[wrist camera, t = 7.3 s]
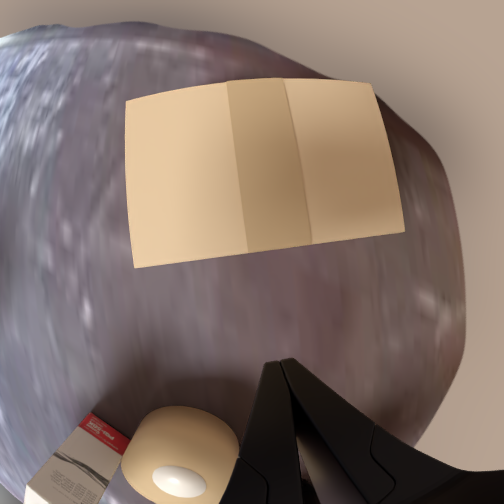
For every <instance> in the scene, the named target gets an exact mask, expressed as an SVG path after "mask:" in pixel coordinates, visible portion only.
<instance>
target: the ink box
mask: <svg viewBox="0 0 504 504" xmlns="http://www.w3.org/2000/svg"><path fill="white" fill-rule="evenodd" d="M130 441H131V440H130V439H128V438H127V437H125V436H124V435H122V434H121V433H120V432H118V431H117V430H115V429H114V428H112V427H111V426H110V425H108V424H107V423H105V422H104V421H102V420H101V419H100V418H98V417H97V416H95V415H94V414H92V413H91V412H90V413H89V414H88V415H87V416H86V417H85V418H84V419H83V421H82V422H81V423H80V424H79V425H78V427H77V428H76V429H75V430H74V431H73V432H72V433H71V434H70V436H69V437H68V438H67V439H66V440H65V441H64V442H63V444H62V445H61V446H60V447H59V448H58V449H57V450H56V452H55V453H54V454H53V455H52V456H51V457H50V458H49V460H48V461H47V462H46V463H45V464H44V465H43V466H42V467H41V469H40V470H39V471H38V472H37V473H36V474H35V475H34V477H33V478H32V479H31V480H30V481H29V482H28V483H27V485H26V492H25V499H24V504H98V503H99V501H100V499H101V497H102V495H103V493H104V492H105V490H106V488H107V486H108V484H109V482H110V480H111V478H112V477H113V475H114V473H115V471H116V469H117V467H118V465H119V463H120V462H121V459H122V457H123V454H124V453H125V451H126V449H127V447H128V445H129V443H130Z"/></svg>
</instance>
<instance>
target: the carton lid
mask: <svg viewBox="0 0 504 504" xmlns="http://www.w3.org/2000/svg"><path fill="white" fill-rule="evenodd" d="M125 169H126V191H127V206H128V218H129V228H130V238H131V246H132V254H133V261H134V268H140V267H148V266H155V265H163V264H170V263H177V262H185V261H192V260H200V259H207V258H215V257H222V256H229V255H237V254H244V253H252V252H259V251H267V250H274V249H282V248H289V247H296V246H304V245H311V244H318V243H325V242H333V241H340V240H347V239H355V238H362V237H370V236H377V235H384V234H392V233H399V232H405V228H404V220H403V213H402V206H401V200H400V194H399V188H398V183H397V178H396V173H395V168H394V163H393V159H392V154H391V150H390V146H389V142H388V138H387V134H386V131H385V127H384V123H383V120H382V116H381V113H380V110H379V107H378V103H377V100H376V97H375V94H374V91H373V89H372V86H371V83H363V82H354V81H342V80H327V79H282V78H263V79H247V80H235V81H226V82H225V83H216V84H209V85H201V86H195V87H189V88H183V89H178V90H172V91H167V92H163V93H158V94H153V95H149V96H145V97H141V98H137V99H133V100H129V101H126V117H125Z"/></svg>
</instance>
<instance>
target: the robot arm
mask: <svg viewBox="0 0 504 504" xmlns="http://www.w3.org/2000/svg"><path fill="white" fill-rule="evenodd" d="M298 449H299V451H300V454H301V456H302V459H303V461H304V464H305V466H306V469H307V471H308V474H309V476H310V479H311V481H312V483H313V484H311V483H310V482H308V481H306V480H304V481H302V479H301V471H300V462H299V454H298ZM303 484H304V485H303ZM219 504H504V470H497V471H496V470H495V471H478V472H474V471H466V470H461V469H457V468H454V467H452V466H450V465H447V464H445V463H443V462H441V461H439V460H437V459H435V458H432V457H430V456H428V455H426V454H424V453H422V452H420V451H418V450H416V449H415V448H413V447H411V446H409V445H407V444H406V443H404V442H402V441H400V440H399V439H397V438H396V437H394V436H393V435H391V434H390V433H388V432H387V431H386V430H384V429H383V428H382V427H380V426H379V425H377V424H376V425H375V422H373V421H372V420H371V419H369V418H368V417H367V416H365V415H364V414H363V413H361V412H360V411H359V410H357V409H356V408H355V407H354V406H352V405H351V404H350V403H348V402H347V401H346V400H345V399H343V398H342V397H341V396H340V395H338V394H337V393H336V392H335V391H333V390H332V389H331V388H330V387H328V386H327V385H326V384H325V383H323V382H322V381H321V380H320V379H318V378H317V377H316V376H315V375H314V374H312V373H311V372H310V371H309V370H308V369H306V368H305V367H304V366H303V365H302V364H300V363H299V362H298V361H297V360H296V359H294V358H288V359H282V360H280V361H271V362H266V363H265V364H264V366H263V370H262V374H261V378H260V381H259V385H258V389H257V392H256V396H255V399H254V403H253V406H252V410H251V413H250V417H249V420H248V424H247V427H246V430H245V434H244V437H243V440H242V444H241V447H240V450H239V454H238V458H237V459H236V463H235V466H234V469H233V472H232V474H231V477H230V480H229V482H228V485H227V487H226V489H225V492H224V494H223V496H222V498H221V500H220V502H219Z"/></svg>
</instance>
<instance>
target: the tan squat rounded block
mask: <svg viewBox="0 0 504 504" xmlns="http://www.w3.org/2000/svg"><path fill="white" fill-rule="evenodd" d="M238 454H239V442H238V439H237V437H236V435H235V433H234V432H233V430H232V429H231V428H230V427H229V426H228V425H227V424H226V423H225V422H224V421H222V420H221V419H219V418H218V417H216V416H214V415H212V414H211V413H208V412H206V411H203V410H200V409H197V408H192V407H187V406H167V407H162V408H159V409H156V410H154V411H152V412H150V413H149V414H147V415H146V416H145V417H144V418H143V420H142V421H141V423H140V425H139V427H138V428H137V430H136V432H135V434H134V436H133V438H132V440H131V441H130V443H129V445H128V447H127V449H126V451H125V453H124V454H123V457H122V459H121V468H122V472H123V474H124V476H125V478H126V480H127V481H128V482H129V484H130V485H131V486H132V487H133V488H134V489H135V490H136V491H137V492H139V493H140V494H141V495H143V496H144V497H146V498H147V499H149V500H151V501H153V502H155V503H157V504H219V502H220V500H221V498H222V496H223V494H224V492H225V489H226V487H227V485H228V482H229V480H230V477H231V474H232V472H233V469H234V466H235V463H236V459H237V458H238Z"/></svg>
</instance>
